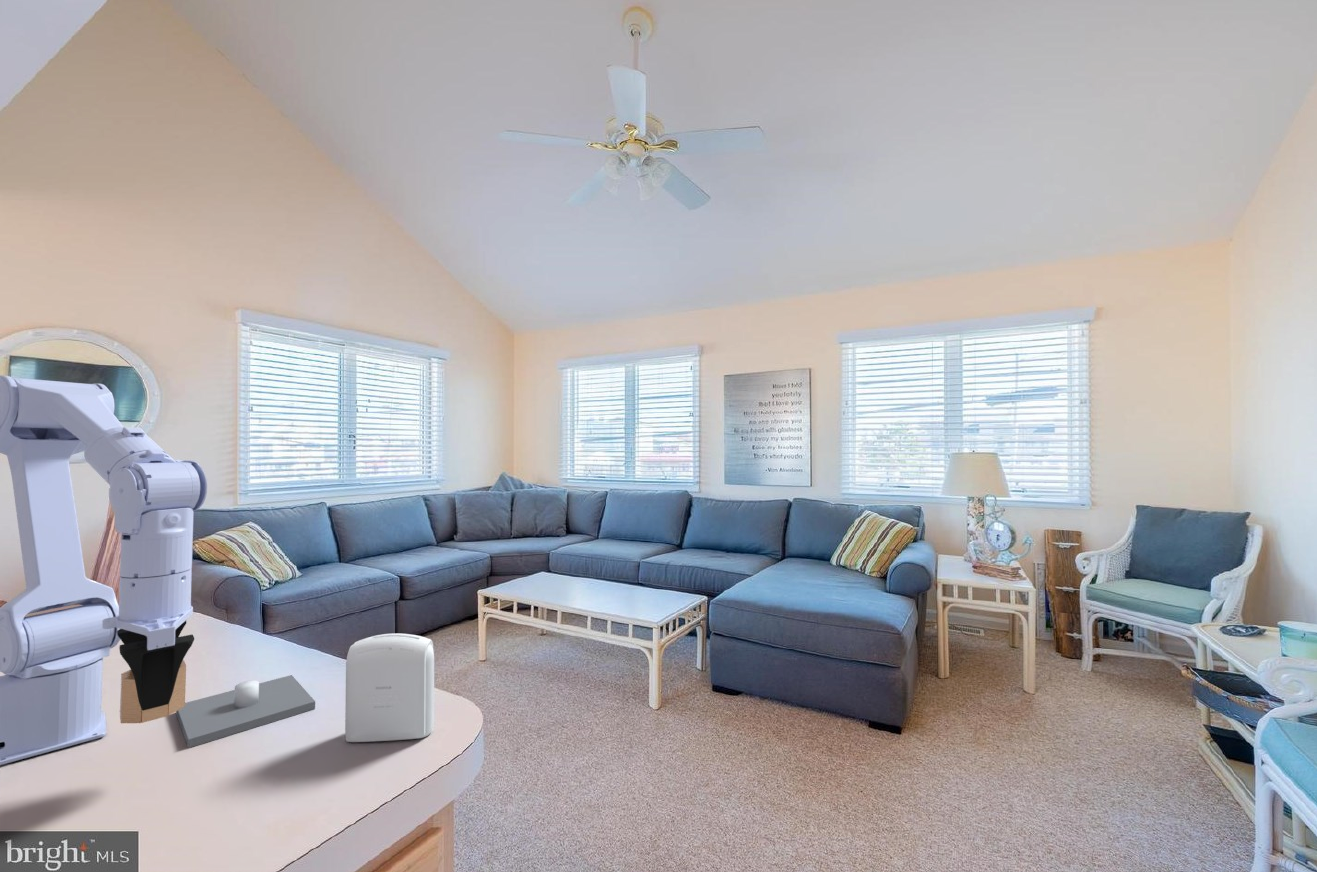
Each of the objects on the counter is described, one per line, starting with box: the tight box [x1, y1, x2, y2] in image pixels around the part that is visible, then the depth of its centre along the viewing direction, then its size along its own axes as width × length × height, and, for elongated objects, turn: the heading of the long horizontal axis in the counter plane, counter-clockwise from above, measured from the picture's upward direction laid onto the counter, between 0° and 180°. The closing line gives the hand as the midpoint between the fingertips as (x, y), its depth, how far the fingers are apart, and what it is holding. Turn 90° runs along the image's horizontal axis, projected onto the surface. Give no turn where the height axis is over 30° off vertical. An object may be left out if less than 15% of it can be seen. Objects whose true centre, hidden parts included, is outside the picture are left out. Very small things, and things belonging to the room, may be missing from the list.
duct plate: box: [175, 674, 316, 749], centre depth 71 cm, size 13×12×4 cm
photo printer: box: [344, 633, 435, 743], centre depth 66 cm, size 10×4×12 cm, turn 96°
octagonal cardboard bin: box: [119, 659, 187, 724], centre depth 58 cm, size 5×5×4 cm
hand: (153, 697), depth 57 cm, fingers closed on octagonal cardboard bin, 5 cm apart
